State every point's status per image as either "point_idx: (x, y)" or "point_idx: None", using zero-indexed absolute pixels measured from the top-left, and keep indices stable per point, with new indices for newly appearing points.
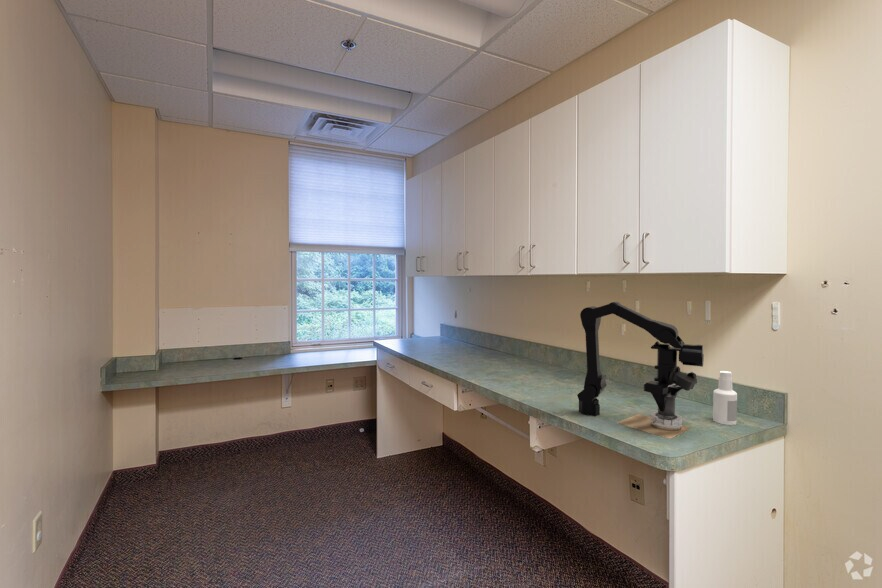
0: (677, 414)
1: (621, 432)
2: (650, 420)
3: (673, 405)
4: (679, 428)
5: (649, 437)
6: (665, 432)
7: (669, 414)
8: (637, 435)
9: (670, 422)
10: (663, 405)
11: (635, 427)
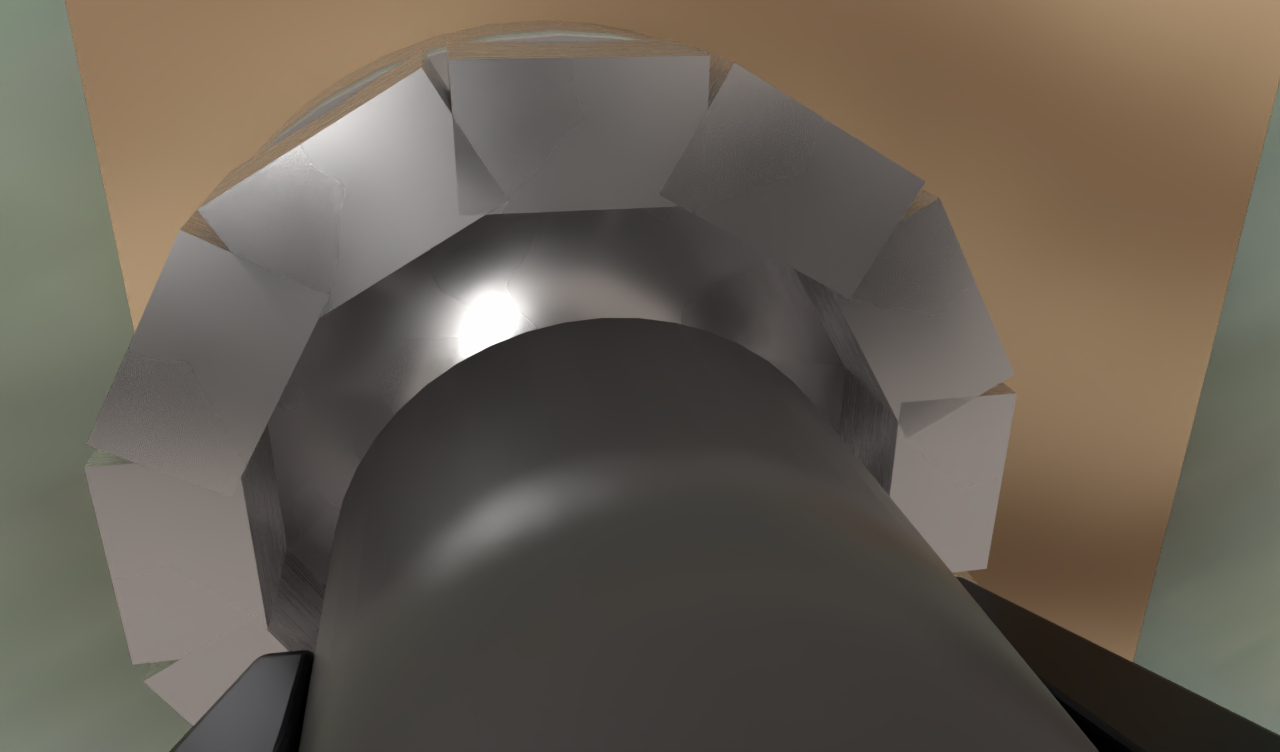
0: (130, 399)
1: (1271, 660)
2: None
3: (772, 526)
4: (604, 29)
5: (1239, 295)
6: (989, 172)
7: (805, 398)
8: (1261, 463)
9: (915, 201)
10: (1216, 718)
11: None
